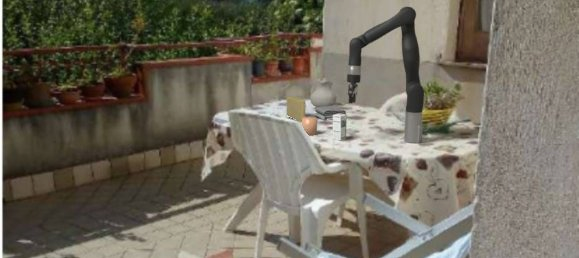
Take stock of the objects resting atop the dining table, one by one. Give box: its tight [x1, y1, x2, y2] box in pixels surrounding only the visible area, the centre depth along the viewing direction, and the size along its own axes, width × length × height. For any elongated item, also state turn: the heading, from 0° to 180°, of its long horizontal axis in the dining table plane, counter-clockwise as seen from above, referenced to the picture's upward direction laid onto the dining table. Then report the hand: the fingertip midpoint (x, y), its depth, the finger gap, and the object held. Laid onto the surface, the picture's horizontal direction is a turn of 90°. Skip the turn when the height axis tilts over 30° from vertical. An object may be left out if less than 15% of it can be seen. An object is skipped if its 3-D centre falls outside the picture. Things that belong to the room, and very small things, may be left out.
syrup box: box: [332, 113, 347, 141], centre depth 331 cm, size 6×6×14 cm
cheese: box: [286, 95, 306, 123], centre depth 388 cm, size 22×10×15 cm, turn 20°
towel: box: [314, 104, 348, 121], centre depth 397 cm, size 15×18×8 cm
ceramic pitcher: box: [309, 75, 337, 109], centre depth 429 cm, size 22×20×25 cm
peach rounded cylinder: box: [301, 116, 318, 137], centre depth 344 cm, size 9×9×10 cm
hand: (351, 102), depth 323 cm, fingers open, 8 cm apart
